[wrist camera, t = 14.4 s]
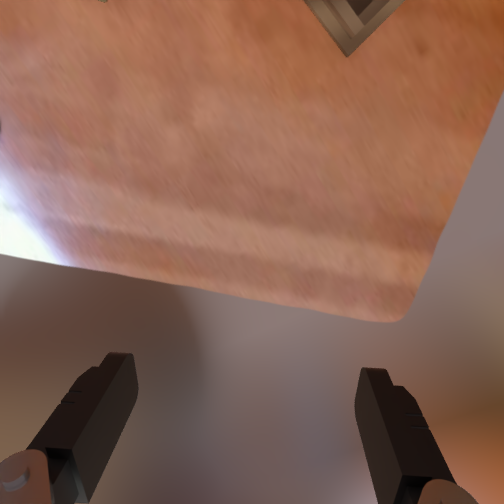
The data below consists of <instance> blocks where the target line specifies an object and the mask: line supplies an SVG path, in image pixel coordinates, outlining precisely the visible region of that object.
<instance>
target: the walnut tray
mask: <svg viewBox="0 0 504 504" xmlns="http://www.w3.org/2000/svg"><path fill="white" fill-rule="evenodd" d="M404 1H405V0H304V2H305V3H306V4H307V6H308V7H309V8H310V10H311V11H312V12H313V14H314V15H315V16H316V18H317V19H318V20H319V22H320V23H321V24H322V26H323V27H324V28H325V30H326V31H327V32H328V34H329V35H330V36H331V38H332V39H333V40H334V42H335V43H336V44H337V46H338V47H339V48H340V50H341V51H342V52H343V54H344V55H345V56H346V58H347V57H348V56H349V55H350V54H352V53H353V52H354V51H355V50H356V49H357V48H358V47H359V46H360V45H361V44H362V43H363V42H364V41H365V40H366V39H367V38H368V37H369V36H370V35H371V34H372V33H373V32H374V31H375V30H376V29H377V28H378V27H379V26H380V25H381V24H382V23H383V22H384V21H385V20H386V19H387V18H388V17H389V16H390V15H391V14H392V13H393V12H394V11H395V10H396V9H397V8H398V7H399V6H400V5H401V4H402V3H403V2H404Z"/></svg>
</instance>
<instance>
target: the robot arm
mask: <svg viewBox="0 0 504 504" xmlns="http://www.w3.org/2000/svg"><path fill="white" fill-rule="evenodd" d="M137 396H138V380H137V374H136V368H135V362H134V356H133V354H131V353H118V352H110V353H108V354H107V355H106V357H105V358H104V360H103V361H102V363H101V364H100V366H99V367H91V368H90V369H88V370H87V371H86V372H84V373H83V374H82V375H81V376H79V377H78V378H77V380H76V381H75V382H74V384H73V385H72V387H71V388H70V390H69V392H68V393H67V394H66V395H65V396H64V398H63V399H62V400H61V404H59V405H58V406H57V407H56V409H55V410H54V412H53V413H52V414H51V416H50V417H49V418H48V420H47V421H46V423H45V424H44V425H43V427H42V428H41V430H40V431H39V432H38V434H37V435H36V436H35V438H34V439H33V441H32V442H31V443H30V445H29V446H28V447H27V448H26V450H24V451H20V452H18V453H15V454H13V455H11V456H9V457H8V458H6V459H5V460H3V461H2V462H1V463H0V504H74V503H89V502H90V499H91V497H92V495H93V493H94V491H95V488H96V487H97V484H98V482H99V480H100V478H101V476H102V474H103V471H104V469H105V467H106V465H107V463H108V461H109V459H110V456H111V454H112V452H113V450H114V448H115V446H116V444H117V442H118V439H119V437H120V435H121V433H122V431H123V429H124V427H125V425H126V422H127V420H128V418H129V416H130V414H131V412H132V409H133V407H134V405H135V403H136V400H137ZM355 417H356V421H357V425H358V429H359V433H360V436H361V440H362V443H363V448H364V452H365V456H366V459H367V463H368V467H369V471H370V474H371V478H372V482H373V486H374V490H375V494H376V497H377V501H378V504H478V502H477V501H476V500H475V499H474V498H473V497H472V496H471V495H470V494H469V493H468V492H467V491H466V490H464V489H463V488H462V487H460V486H458V485H457V483H456V482H455V480H454V478H453V476H452V474H451V472H450V470H449V468H448V466H447V464H446V462H445V460H444V457H443V456H442V453H441V451H440V449H439V447H438V445H437V443H436V441H435V439H434V437H433V435H432V433H431V431H430V430H429V428H428V427H429V426H428V424H427V422H426V420H425V418H424V417H423V416H422V412H421V410H420V408H419V406H418V404H417V402H416V400H415V398H414V397H413V396H412V395H411V394H410V393H409V392H408V391H407V390H406V389H405V388H404V387H403V386H394V385H393V383H392V381H391V379H390V376H389V374H388V372H387V370H386V369H381V368H364V367H363V368H362V369H361V372H360V377H359V382H358V387H357V392H356V397H355Z"/></svg>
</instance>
